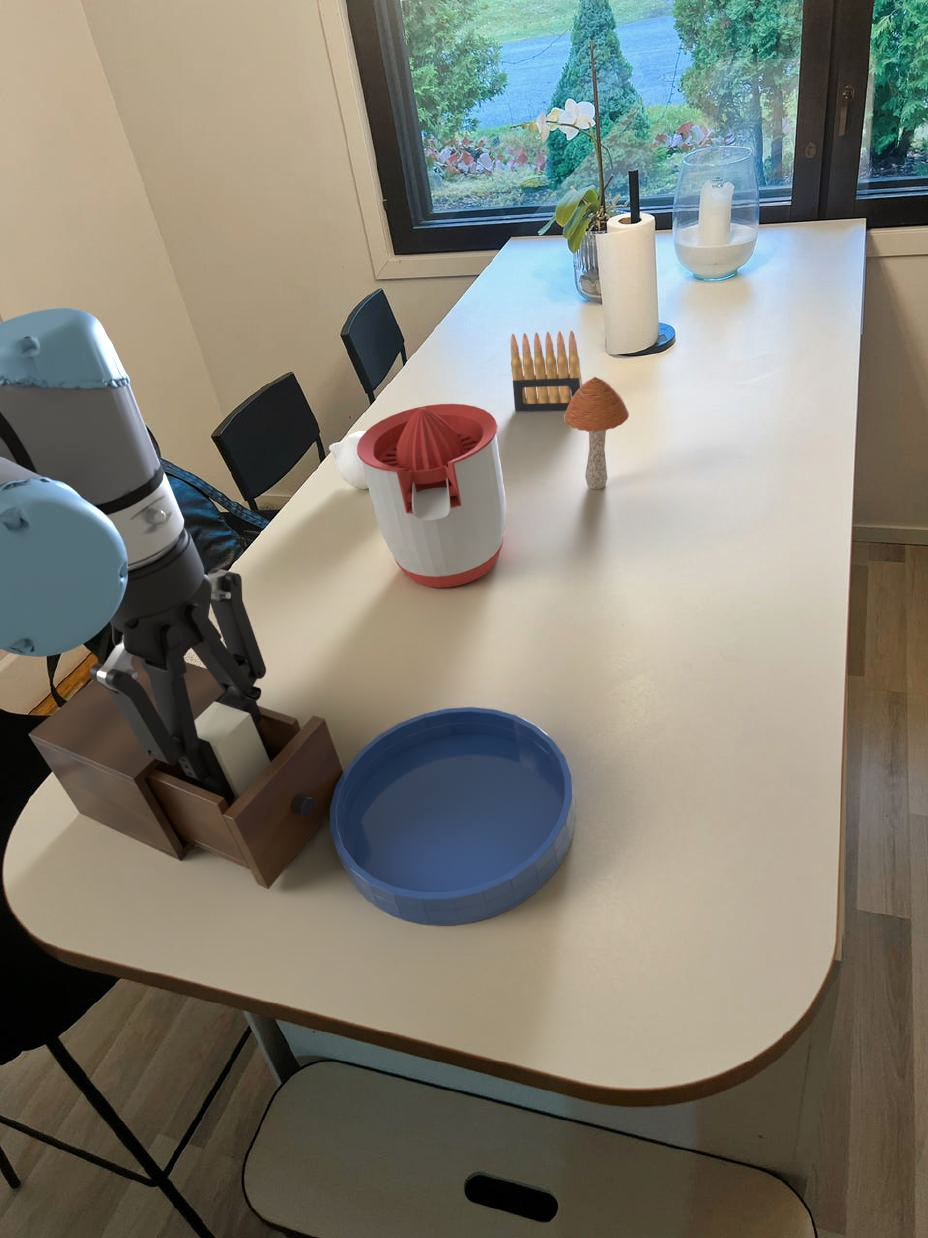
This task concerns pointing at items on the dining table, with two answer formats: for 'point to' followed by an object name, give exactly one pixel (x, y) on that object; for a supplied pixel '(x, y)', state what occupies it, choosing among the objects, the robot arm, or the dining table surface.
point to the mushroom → (596, 423)
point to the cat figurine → (350, 460)
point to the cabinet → (115, 758)
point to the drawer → (258, 799)
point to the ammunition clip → (539, 379)
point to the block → (233, 744)
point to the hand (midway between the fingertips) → (239, 775)
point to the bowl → (454, 815)
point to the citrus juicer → (437, 491)
